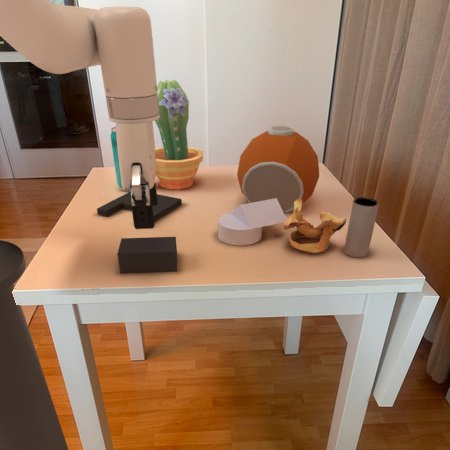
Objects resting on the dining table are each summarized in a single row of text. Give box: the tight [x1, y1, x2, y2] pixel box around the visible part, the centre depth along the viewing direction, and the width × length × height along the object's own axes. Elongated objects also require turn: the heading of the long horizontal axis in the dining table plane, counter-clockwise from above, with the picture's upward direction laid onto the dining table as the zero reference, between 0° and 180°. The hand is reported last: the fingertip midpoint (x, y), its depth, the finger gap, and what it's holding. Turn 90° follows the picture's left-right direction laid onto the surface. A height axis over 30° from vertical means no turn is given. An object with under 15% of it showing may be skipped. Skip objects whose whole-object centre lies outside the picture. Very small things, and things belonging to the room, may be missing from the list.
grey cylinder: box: [343, 196, 380, 258], centre depth 79 cm, size 4×4×10 cm
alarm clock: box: [236, 125, 320, 213], centre depth 98 cm, size 19×18×17 cm
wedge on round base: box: [217, 198, 288, 247], centre depth 86 cm, size 9×7×13 cm
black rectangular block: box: [116, 236, 178, 274], centre depth 76 cm, size 6×10×4 cm, turn 95°
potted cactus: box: [154, 79, 204, 190], centre depth 107 cm, size 15×15×25 cm
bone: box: [283, 198, 347, 255], centre depth 82 cm, size 12×10×8 cm
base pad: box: [96, 191, 183, 223], centre depth 98 cm, size 14×14×2 cm
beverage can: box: [110, 126, 131, 192], centre depth 106 cm, size 6×6×15 cm
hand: (146, 216), depth 72 cm, fingers open, 9 cm apart
